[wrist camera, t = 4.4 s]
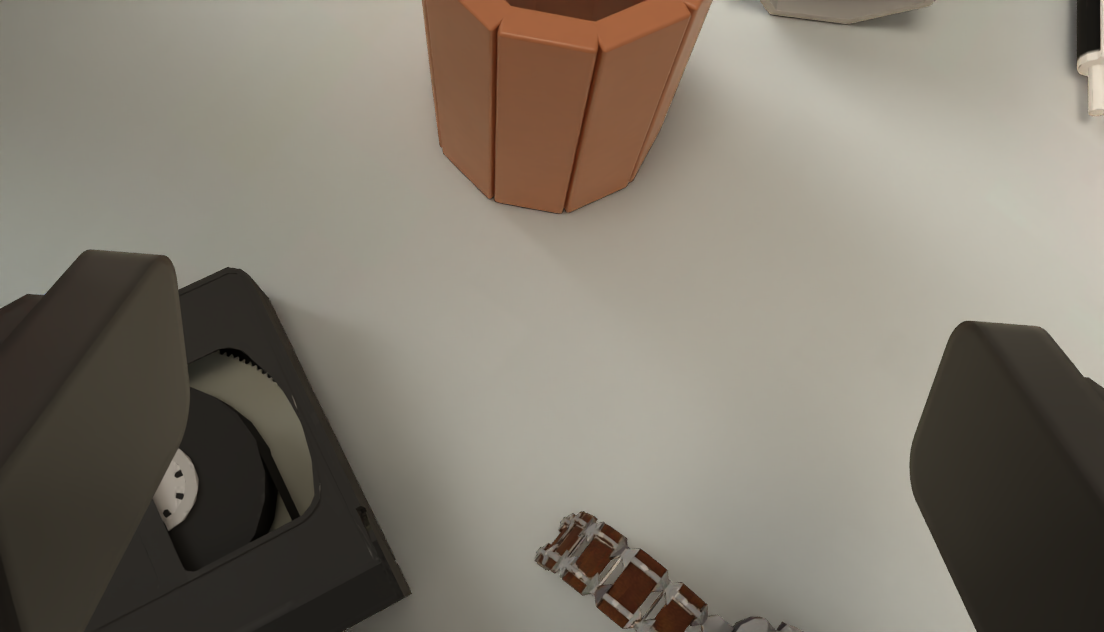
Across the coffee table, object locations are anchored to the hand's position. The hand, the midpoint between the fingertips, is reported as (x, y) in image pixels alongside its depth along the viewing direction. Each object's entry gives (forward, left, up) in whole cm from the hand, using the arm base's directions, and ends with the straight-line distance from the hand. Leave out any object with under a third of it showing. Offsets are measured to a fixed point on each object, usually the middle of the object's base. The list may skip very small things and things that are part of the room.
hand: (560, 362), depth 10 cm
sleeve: (-8, +5, -13) cm, 16 cm away
